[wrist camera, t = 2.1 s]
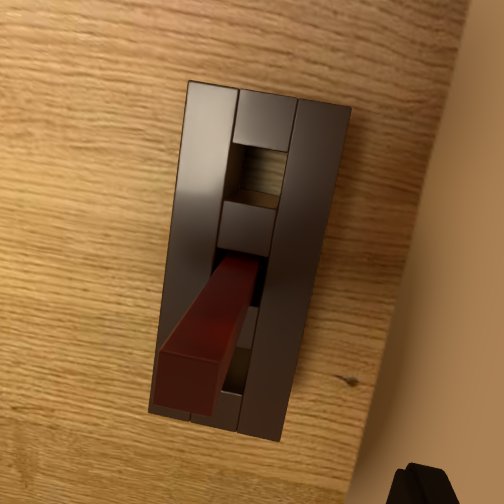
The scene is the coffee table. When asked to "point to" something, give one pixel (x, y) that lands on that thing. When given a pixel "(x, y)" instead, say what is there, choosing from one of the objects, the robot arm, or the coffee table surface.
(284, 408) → the holder
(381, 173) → the coffee table surface
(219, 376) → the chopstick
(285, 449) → the coffee table surface
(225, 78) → the coffee table surface
